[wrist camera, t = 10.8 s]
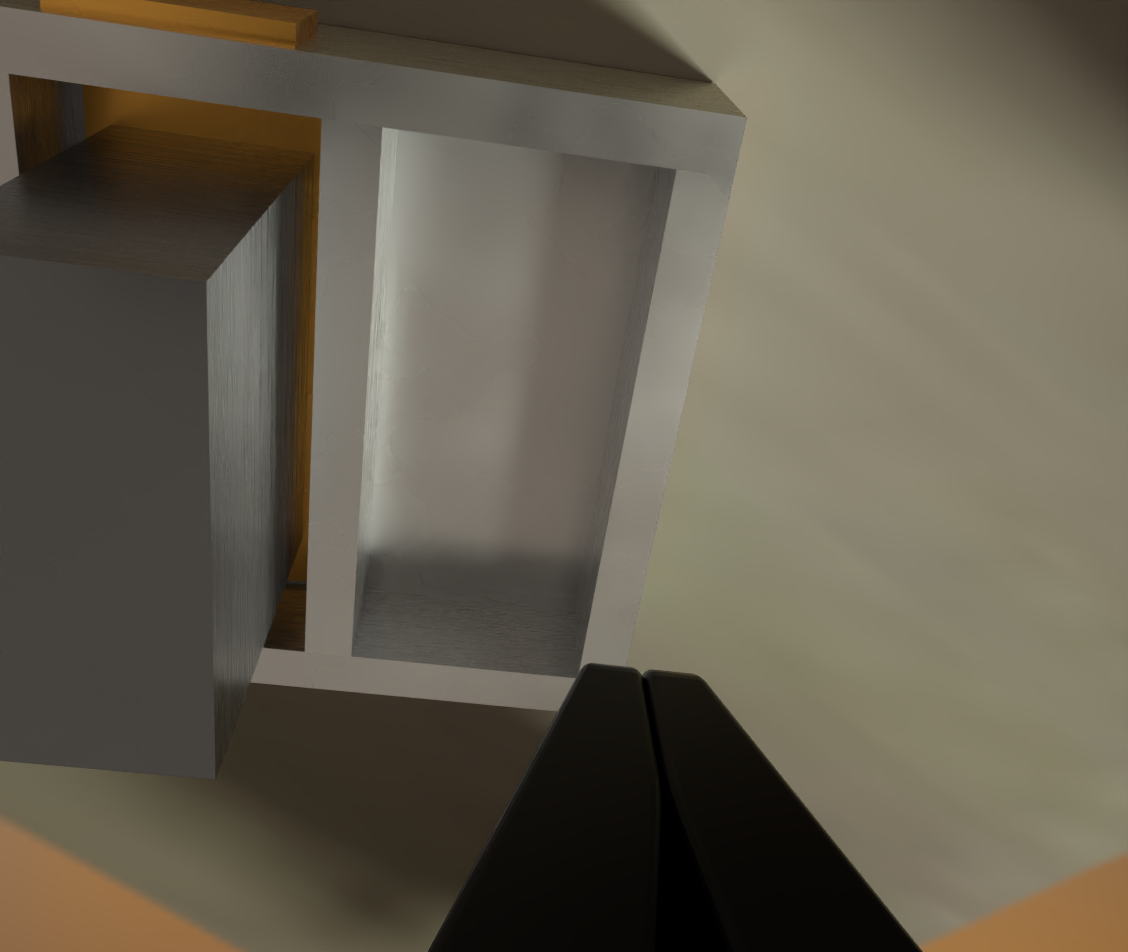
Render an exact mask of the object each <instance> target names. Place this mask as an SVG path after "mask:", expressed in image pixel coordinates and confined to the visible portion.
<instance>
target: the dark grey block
mask: <svg viewBox="0 0 1128 952" xmlns="http://www.w3.org/2000/svg"><path fill="white" fill-rule="evenodd" d="M313 182H314V153H309V152H302V151H295V150H288V149H281V148H274V147H267V146H260V145H253V144H246V143H239V142H232V141H225V140H218V139H211V138H204V137H197V136H190V135H183V134H176V133H169V132H162V131H155V130H148V129H141V128H134V127H127V126H120V125H113V124H111V125H109V126H108V127H106V128H104V129H102V130H100V131H99V132H97V133H95V134H93V135H91V136H89V137H88V138H86V139H84V140H82V141H80V142H79V143H77V144H75V145H73V146H71V147H69V148H68V149H66V150H64V151H62V152H60V153H59V154H57V155H55V156H53V157H51V158H50V159H48V160H46V161H44V162H42V163H40V164H39V165H37V166H35V167H33V168H31V169H30V170H28V171H26V172H24V173H22V174H21V175H19V176H17V177H15V178H13V179H11V180H10V181H8V182H6V183H4V184H2V185H1V186H0V761H10V762H21V763H32V764H44V765H55V766H67V767H78V768H89V769H101V770H112V771H124V772H135V773H146V774H158V775H169V776H181V777H192V778H203V779H216V777H217V774H218V771H219V768H220V766H221V763H222V760H223V757H224V754H225V752H226V749H227V746H228V743H229V741H230V738H231V735H232V732H233V729H234V727H235V724H236V721H237V718H238V716H239V713H240V710H241V707H242V704H243V702H244V699H245V696H246V693H247V690H248V688H249V685H250V682H251V679H252V677H253V674H254V671H255V668H256V665H257V663H258V660H259V657H260V654H261V652H262V649H263V646H264V643H265V640H266V638H267V635H268V632H269V629H270V627H271V624H272V621H273V618H274V615H275V613H276V610H277V607H278V604H279V602H280V599H281V596H282V593H283V590H284V588H285V585H286V582H287V579H288V577H289V574H290V571H291V568H292V565H293V563H294V560H295V557H296V554H297V551H298V549H299V546H300V543H301V540H302V530H303V499H304V467H305V435H306V404H307V372H308V340H309V309H310V277H311V245H312V214H313Z"/></svg>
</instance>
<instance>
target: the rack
mask: <svg viewBox="0 0 1128 952" xmlns="http://www.w3.org/2000/svg"><path fill="white" fill-rule="evenodd" d="M746 120H747V117H746V116H745V115H744V114H743V113H742V112H741V111H740V110H739V108H738V107H737V106H736V105H735V104H734V103H733V102H732V101H731V100H730V99H729V98H728V97H727V96H726V95H725V93H724V92H723V91H722V90H721V89H720V88H719V87H718V86H717V85H716V84H713V83H706V82H700V81H693V80H687V79H680V78H673V77H667V76H660V75H654V74H647V73H640V72H634V71H627V70H621V69H614V68H607V67H601V66H594V65H588V64H581V63H574V62H568V61H561V60H555V59H548V58H541V57H535V56H528V55H522V54H515V53H508V52H502V51H495V50H489V49H482V48H475V47H469V46H462V45H456V44H449V43H442V42H436V41H429V40H423V39H416V38H409V37H403V36H396V35H390V34H383V33H376V32H370V31H363V30H357V29H350V28H343V27H337V26H330V25H324V24H318V11H317V10H311V9H304V8H297V7H291V6H284V5H278V4H271V3H265V2H258V1H252V0H0V186H1V185H2V184H4V183H6V182H8V181H10V180H11V179H13V178H15V177H17V176H19V175H21V174H22V173H24V172H26V171H28V170H30V169H31V168H33V167H35V166H37V165H39V164H40V163H42V162H44V161H46V160H48V159H50V158H51V157H53V156H55V155H57V154H59V153H60V152H62V151H64V150H66V149H68V148H69V147H71V146H73V145H75V144H77V143H79V142H80V141H82V140H84V139H86V138H88V137H89V136H91V135H93V134H95V133H97V132H99V131H100V130H102V129H104V128H106V127H108V126H109V125H111V124H113V125H120V126H127V127H134V128H141V129H148V130H155V131H162V132H169V133H176V134H183V135H190V136H197V137H204V138H211V139H218V140H225V141H232V142H239V143H246V144H253V145H260V146H267V147H274V148H281V149H288V150H295V151H302V152H309V153H314V182H313V214H312V245H311V277H310V309H309V340H308V372H307V404H306V435H305V467H304V499H303V530H302V540H301V543H300V546H299V549H298V551H297V554H296V557H295V560H294V563H293V565H292V568H291V571H290V574H289V577H288V579H287V582H286V585H285V588H284V590H283V593H282V596H281V599H280V602H279V604H278V607H277V610H276V613H275V615H274V618H273V621H272V624H271V627H270V629H269V632H268V635H267V638H266V640H265V643H264V646H263V649H262V652H261V654H260V657H259V660H258V663H257V665H256V668H255V671H254V674H253V677H252V679H251V682H252V683H262V684H273V685H284V686H294V687H305V688H315V689H326V690H337V691H347V692H358V693H368V694H379V695H390V696H400V697H411V698H421V699H432V700H443V701H453V702H464V703H474V704H485V705H495V706H506V707H517V708H527V709H538V710H548V711H558V710H559V708H560V706H561V705H562V703H563V701H564V699H565V697H566V695H567V693H568V692H569V690H570V688H571V686H572V684H573V682H574V681H575V679H576V677H577V675H578V673H579V671H580V670H581V668H582V667H583V666H584V665H586V664H588V663H599V664H608V665H617V666H626V663H627V659H628V654H629V650H630V645H631V641H632V636H633V631H634V627H635V622H636V618H637V613H638V609H639V604H640V600H641V595H642V591H643V586H644V582H645V577H646V573H647V568H648V564H649V559H650V555H651V550H652V545H653V541H654V536H655V532H656V527H657V523H658V518H659V514H660V509H661V505H662V500H663V496H664V491H665V487H666V482H667V478H668V473H669V469H670V464H671V459H672V455H673V450H674V446H675V441H676V437H677V432H678V428H679V423H680V419H681V414H682V410H683V405H684V401H685V396H686V392H687V387H688V383H689V378H690V373H691V369H692V364H693V360H694V355H695V351H696V346H697V342H698V337H699V333H700V328H701V324H702V319H703V315H704V310H705V306H706V301H707V297H708V292H709V287H710V283H711V278H712V274H713V269H714V265H715V260H716V256H717V251H718V247H719V242H720V238H721V233H722V229H723V224H724V220H725V215H726V211H727V206H728V201H729V197H730V192H731V188H732V183H733V179H734V174H735V170H736V165H737V161H738V156H739V152H740V147H741V143H742V138H743V134H744V129H745V125H746Z"/></svg>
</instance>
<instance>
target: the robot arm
mask: <svg viewBox="0 0 1128 952" xmlns="http://www.w3.org/2000/svg"><path fill="white" fill-rule="evenodd" d="M428 952H922V950H921V949H920V948H919V947H918V945H917V944H916V943H915V942H914V940H913V939H912V938H911V937H910V935H909V934H908V933H907V932H906V930H905V929H904V928H903V927H902V925H901V924H900V923H899V922H898V920H897V919H896V918H895V917H894V915H893V914H892V913H891V912H890V910H889V909H888V908H887V907H886V905H885V904H884V903H883V902H882V900H881V899H880V898H879V897H878V896H877V894H876V893H875V892H874V891H873V889H872V888H871V887H870V886H869V884H868V883H867V882H866V881H865V879H864V878H863V877H862V876H861V874H860V873H859V872H858V871H857V869H856V868H855V867H854V866H853V864H852V863H851V862H850V861H849V859H848V858H847V857H846V856H845V854H844V853H843V852H842V851H841V849H840V848H839V847H838V846H837V845H836V843H835V842H834V841H833V840H832V838H831V837H830V836H829V835H828V833H827V832H826V831H825V830H824V828H823V827H822V826H821V825H820V823H819V822H818V821H817V820H816V818H815V817H814V816H813V815H812V813H811V812H810V811H809V810H808V808H807V807H806V806H805V805H804V803H803V802H802V801H801V800H800V798H799V797H798V796H797V795H796V794H795V792H794V791H793V790H792V789H791V787H790V786H789V785H788V784H787V782H786V781H785V780H784V779H783V777H782V776H781V775H780V774H779V772H778V771H777V770H776V769H775V767H774V766H773V765H772V764H771V762H770V761H769V760H768V759H767V757H766V756H765V755H764V754H763V752H762V751H761V750H760V749H759V747H758V746H757V745H756V744H755V743H754V741H753V740H752V739H751V738H750V736H749V735H748V734H747V733H746V731H745V730H744V729H743V728H742V726H741V725H740V724H739V723H738V721H737V720H736V719H735V718H734V716H733V715H732V714H731V713H730V711H729V710H728V709H727V708H726V706H725V705H724V704H723V703H722V701H721V700H720V699H719V698H718V696H717V695H716V694H715V693H714V692H713V690H712V689H711V688H710V687H709V685H708V684H707V683H706V682H705V681H704V680H703V679H702V678H701V677H699V676H698V675H694V674H690V673H680V672H671V671H662V670H648V671H646V672H645V673H644V674H643V675H642V676H641V674H640V672H639V671H638V670H636V669H635V668H632V667H626V666H617V665H608V664H599V663H588V664H586V665H584V666H583V667H582V668H581V670H580V671H579V673H578V675H577V677H576V679H575V681H574V682H573V684H572V686H571V688H570V690H569V692H568V693H567V695H566V697H565V699H564V701H563V703H562V705H561V706H560V708H559V710H558V712H557V714H556V716H555V717H554V719H553V721H552V723H551V725H550V727H549V729H548V730H547V732H546V734H545V736H544V738H543V740H542V742H541V743H540V745H539V747H538V749H537V751H536V753H535V754H534V756H533V758H532V760H531V762H530V764H529V766H528V767H527V769H526V771H525V773H524V775H523V777H522V779H521V780H520V782H519V784H518V786H517V788H516V790H515V791H514V793H513V795H512V797H511V799H510V801H509V803H508V804H507V806H506V808H505V810H504V812H503V814H502V815H501V817H500V819H499V821H498V823H497V825H496V827H495V828H494V830H493V832H492V834H491V836H490V838H489V840H488V841H487V843H486V845H485V847H484V849H483V851H482V852H481V854H480V856H479V858H478V860H477V862H476V864H475V865H474V867H473V869H472V871H471V873H470V875H469V877H468V878H467V880H466V882H465V884H464V886H463V888H462V889H461V891H460V893H459V895H458V897H457V899H456V901H455V902H454V904H453V906H452V908H451V910H450V912H449V913H448V915H447V917H446V919H445V921H444V923H443V925H442V926H441V928H440V930H439V932H438V934H437V936H436V938H435V939H434V941H433V943H432V945H431V947H430V949H429V950H428Z"/></svg>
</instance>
